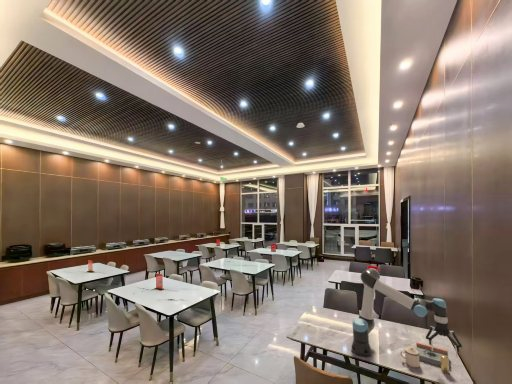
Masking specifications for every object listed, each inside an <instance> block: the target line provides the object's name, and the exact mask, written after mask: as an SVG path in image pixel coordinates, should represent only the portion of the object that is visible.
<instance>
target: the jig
mask: <svg viewBox="0 0 512 384" xmlns="http://www.w3.org/2000/svg"><path fill="white" fill-rule="evenodd" d="M415 345H416V346H415V347H416V348H415V350H417V351H418V352H419V361H422V362H426V363H428V364H431V365H435V366H439V367H441V362H440V355H445V356H447V357H448V358H449V353H448V352H449V351H448V349H444V348H440V347H438V346H437V347H436V346H433V351H432V348H431V345H429V344H426V343H422V342H418V341H416V343H415ZM448 361H449V359H448ZM449 362H450V361H449Z"/></svg>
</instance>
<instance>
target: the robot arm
mask: <svg viewBox="0 0 512 384" xmlns="http://www.w3.org/2000/svg"><path fill="white" fill-rule="evenodd" d="M380 278H381V275H380V273H379V271H378V270H377V269H375V268H371V267H369V268H366V269H365V270H363V271H362V272H361V274H360V279H361V280H360V281H361V282H362V284H363V287H364V288H363V294H362V304H361V311H360V312H359V314H358V318H355V319H353V320H352V339H353V340H352V343H351V351H352V353H353V354H355V355H356V356H359V357H364V358H366V357H367V358H368V357H371V356H372V353H373V352H372V348H371V345H370V337H369V334H370V333H371V332H372V331H373V330H374V328H375V317H374V316H373V312H374V304H375V294H376V291H377V292H379V293H380V294H383V295H384V296H386V297H388V298H390V299H391V300H393V301H395V302H397V303H399V304H400V305H402V306H404V307H405V308H407V309H409V310H411V311H413V313H414V314H415V315H416V316H418V317H421V318H425V316H426V315H428V312H432V313H433V316H434V326H433V325H430V327H429V330H428V332H427V333H426V335H425V340H427V341H428V345H430V346H431V348H432V351H433V339H434V338H436V337H437V336H443V337H447V338H448V339H449V340H450V341H451V342H452V344H453V345H454V348H455V357H456V358H459V356H458V353H460V348H462V347H463V346H462V343H461V342H460V339H458V337H457V335H456V334H455V331H454V330H450V329H449V323H448V321H449V320H448V314H447V313H448V309H447V304H446V301H445V300H444V299H443V298H436V297H435V298H432V300H429V299H423V298H420V297H419V298H418V297H414V298H412V297H410V296H409V295H406V294H405V293H402V292H400V291H399V290H397V289H395V288H394V287H392V286H390V285H388V284H386V283H385V282H383V281H381V280H380ZM434 330H435V332H434V333H433V334H432V332H433V331H434ZM431 334H432V335H431ZM451 335H452V336H453V337H451ZM453 338H454V339H453Z"/></svg>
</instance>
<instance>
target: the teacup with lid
mask: <svg viewBox="0 0 512 384" xmlns="http://www.w3.org/2000/svg"><path fill="white" fill-rule="evenodd" d="M402 353H404V355H405V356H404V355H403V354H402ZM400 356H401V357H402V358H403V359H405V363H406V364H407V366H410V367H412V368H419V367H420V364H421V363H420V360H419V352H418V351H417V350H416V348H414V347H413V346H410V347H405V348H404V350H401V351H400Z"/></svg>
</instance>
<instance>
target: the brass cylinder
mask: <svg viewBox="0 0 512 384" xmlns="http://www.w3.org/2000/svg"><path fill="white" fill-rule="evenodd" d="M448 360H449V356H448V357H447V356H445V355H440V362H441V366H440V371H441V372H442V373H444V374H446V375H449V374H450V361H448Z"/></svg>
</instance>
